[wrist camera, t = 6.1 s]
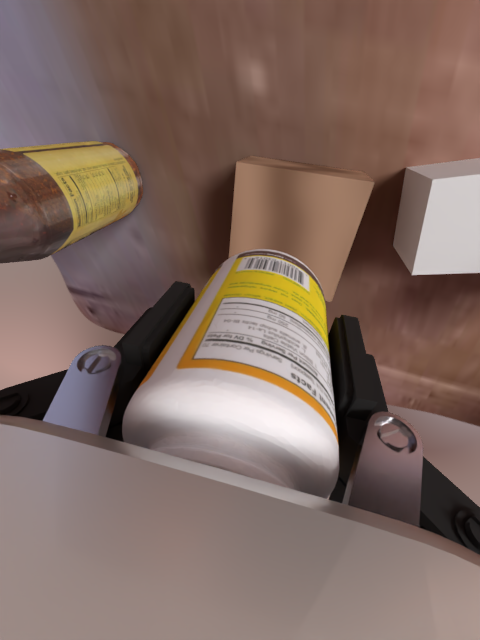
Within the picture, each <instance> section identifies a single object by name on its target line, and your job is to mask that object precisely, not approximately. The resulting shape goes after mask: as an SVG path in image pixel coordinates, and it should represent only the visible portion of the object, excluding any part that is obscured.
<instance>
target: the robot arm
mask: <svg viewBox="0 0 480 640" xmlns="http://www.w3.org/2000/svg"><path fill="white" fill-rule="evenodd" d="M194 302H195V297H194V288H191V286H190V284H188V283H183V282H178V281H176V282H175V283H174V284H173V285H172V286H171V287H170V288H169V289H168V290H167V292H166V293H165V294H164V295H163V296H162V297H161V298H160V300H159V301H158V302H157V303H156V304H155V305H154V306H153V308H149V309H148V310H147V311H146V312H145V313H144V314H143V315H142V316H141V317H140V318H139V320H138V321H137V322H136V323H135V324H134V325H133V326H132V327H131V328H130V330H129V331H128V332H127V333H126V334H125V335H124V336H123V337H122V338H121V340H120V341H119V342H118V343H117V344H116V345H115V346H114V347H111V346H106V345H102V346H94V347H91V348H88V349H86V350H84V351H82V352H81V353H79V354H78V355H77V356H76V357H75V358H74V360H73V361H72V363H71V365H70V367H69V369H68V370H64V371H61V372H58V373H54V374H51V375H48V376H44V377H41V378H38V379H34V380H31V381H28V382H24V383H21V384H18V385H15V386H12V387H8V388H5V389H3V390H0V640H480V507H479V506H477V505H476V504H475V503H474V502H473V501H472V500H471V499H470V498H469V497H467V496H466V495H465V494H464V493H463V492H462V491H461V490H460V489H459V488H458V487H456V486H455V485H454V484H453V483H452V482H451V481H450V480H449V479H448V478H446V477H445V476H444V475H443V474H442V473H441V472H440V471H439V470H438V469H436V468H435V467H434V466H433V465H432V464H431V463H430V462H429V461H427V460H426V459H425V458H424V457H423V442H422V439H421V437H420V435H419V433H418V432H417V431H416V430H415V428H414V427H413V426H412V425H411V424H410V423H409V422H407V421H406V420H405V419H403V418H401V417H400V416H398V415H396V414H393V413H390V412H388V409H387V405H386V401H385V397H384V393H383V390H382V386H381V382H380V378H379V374H378V370H377V367H376V363H375V359H374V357H373V356H372V355H370V354H366V351H365V347H364V343H363V338H362V334H361V330H360V325H359V321H358V318H356V317H351V316H346V315H341V317H340V318H337V317H336V318H335V319H334V322H333V324H332V327H331V330H330V332H329V335H328V339H329V349H330V360H331V372H332V383H333V393H334V405H335V415H336V425H337V434H338V445H339V467H340V468H339V474H338V479H337V482H336V485H335V487H334V489H333V491H332V492H331V494H330V495H329V497H328V498H327V499H325V498H321V497H318V496H314V495H311V494H307V493H303V492H300V491H296V490H293V489H289V488H286V487H282V486H279V485H275V484H272V483H268V482H265V481H261V480H258V479H254V478H251V477H247V476H244V475H240V474H236V473H233V472H229V471H226V470H222V469H219V468H215V467H212V466H208V465H204V464H201V463H197V462H194V461H190V460H186V459H183V458H179V457H176V456H172V455H169V454H165V453H161V452H158V451H154V450H150V449H147V448H143V447H139V446H136V445H132V444H129V443H125V442H124V439H123V435H122V423H123V417H124V413H125V410H126V408H127V406H128V404H129V402H130V400H131V398H132V397H133V395H134V393H135V392H136V390H137V389H138V387H139V385H140V384H141V382H142V381H143V379H144V378H145V376H146V375H147V373H148V372H149V370H150V369H151V367H152V366H153V364H154V363H155V361H156V360H157V358H158V357H159V355H160V354H161V352H162V351H163V349H164V348H165V346H166V345H167V343H168V342H169V340H170V339H171V337H172V336H173V334H174V333H175V331H176V330H177V328H178V327H179V325H180V323H181V322H182V320H183V319H184V317H185V316H186V314H187V313H188V311H189V310H190V308H191V307H192V305H193V304H194Z"/></svg>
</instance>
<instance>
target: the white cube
mask: <svg viewBox="0 0 480 640" xmlns="http://www.w3.org/2000/svg"><path fill="white" fill-rule="evenodd" d="M393 247H394V248H395V250H396V251H397V253H398V254H399V256H400V257H401V259H402V261H403V262H404V264H405V265H406V267H407V268H408V270H409V271H410V273H411V275H430V274H460V273H480V158H476V159H468V160H460V161H453V162H445V163H437V164H429V165H422V166H414V167H406V170H405V176H404V182H403V188H402V194H401V200H400V206H399V212H398V218H397V224H396V230H395V236H394V242H393Z"/></svg>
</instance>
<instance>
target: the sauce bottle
mask: <svg viewBox="0 0 480 640" xmlns="http://www.w3.org/2000/svg"><path fill="white" fill-rule="evenodd" d="M142 194H143V185H142V179H141V174H140V172H139V169H138V166H137V165H136V163H135V161H134V160H133V159H132V158H131V157H130V156H129V155H128V154H127V153H126V152H124V151H123V150H122V149H120V148H119V147H118V146H116V145H114V144H112V143H107V142H103V143H101V142H97V141H88V142H75V143H63V144H53V145H41V146H30V147H19V148H8V149H0V263H9V262H19V261H30V260H39V259H43V258H45V257H48V256H50V255H52V254H53V253H55V252H57V251H60V250H62V249H63V248H65V247H67V246H69V245H71V244H73V243H75V242H77V241H79V240H81V239H83V238H85V237H87V236H88V235H90V234H92V233H94V232H96V231H97V230H100V229H102V228H104V227H106V226H108V225H110V224H111V223H113V222H115V221H117V220H119V219H121V218H123V217H125V216H127V215H128V214H129V213H131V212H132V211H133V209H134V208H135V207H136V206H137V205H138V204H139V202H140V200H141V198H142Z"/></svg>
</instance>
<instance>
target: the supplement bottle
mask: <svg viewBox="0 0 480 640" xmlns="http://www.w3.org/2000/svg"><path fill="white" fill-rule="evenodd" d="M122 435H123V439H124V442H125V443H129V444H132V445H136V446H139V447H143V448H147V449H150V450H154V451H158V452H161V453H165V454H169V455H172V456H176V457H179V458H183V459H186V460H190V461H194V462H197V463H201V464H204V465H208V466H212V467H215V468H219V469H222V470H226V471H229V472H233V473H236V474H240V475H244V476H247V477H251V478H254V479H258V480H261V481H265V482H268V483H272V484H275V485H279V486H282V487H286V488H289V489H293V490H296V491H300V492H303V493H307V494H311V495H314V496H318V497H321V498H325V499H327V498H328V497H329V495H330V494H331V492H332V491H333V489H334V487H335V485H336V482H337V479H338V474H339V468H340V467H339V445H338V434H337V425H336V415H335V405H334V393H333V383H332V372H331V360H330V349H329V339H328V328H327V317H326V304H325V298H324V293H323V290H322V287H321V285H320V283H319V281H318V279H317V278H316V276H315V275H314V273H313V272H312V271H311V270H310V269H309V268H308V267H307V266H306V265H305V264H304V263H302V262H301V261H300V260H298V259H297V258H295V257H293V256H291V255H289V254H286V253H283V252H280V251H276V250H270V249H255V250H249V251H245V252H241V253H239V254H236V255H234V256H232V257H230V258H229V259H227V260H226V261H225V262H223V263H222V264H221V265H220V266H219V267H218V268H217V269H216V271H215V272H214V273H213V275H212V276H211V278H210V279H209V281H208V282H207V284H206V285H205V287H204V289H203V290H202V292H201V293H200V295H199V296H198V298H197V299H196V301H195V302H194V304H193V305H192V307H191V308H190V310H189V311H188V313H187V314H186V316H185V317H184V319H183V320H182V322H181V323H180V325H179V327H178V328H177V330H176V331H175V333H174V334H173V336H172V337H171V339H170V340H169V342H168V343H167V345H166V346H165V348H164V349H163V351H162V352H161V354H160V355H159V357H158V358H157V360H156V361H155V363H154V364H153V366H152V367H151V369H150V370H149V372H148V373H147V375H146V376H145V378H144V379H143V381H142V382H141V384H140V385H139V387H138V389H137V390H136V392H135V393H134V395H133V397H132V398H131V400H130V402H129V404H128V406H127V408H126V410H125V413H124V417H123V423H122Z"/></svg>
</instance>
